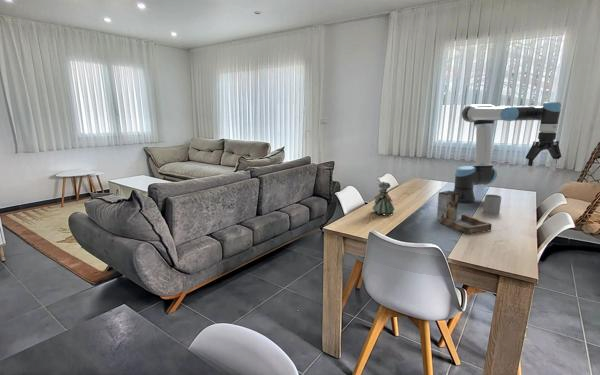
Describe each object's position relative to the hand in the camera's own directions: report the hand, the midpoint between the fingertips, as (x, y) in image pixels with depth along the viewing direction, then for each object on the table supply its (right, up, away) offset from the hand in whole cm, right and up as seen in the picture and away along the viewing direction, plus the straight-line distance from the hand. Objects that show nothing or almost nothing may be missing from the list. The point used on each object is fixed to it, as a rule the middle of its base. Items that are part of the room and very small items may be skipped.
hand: (541, 171), depth 174 cm
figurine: (-82, -25, +21) cm, 88 cm away
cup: (-16, -24, +19) cm, 35 cm away
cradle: (-44, -30, -5) cm, 54 cm away
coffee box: (-49, -27, +7) cm, 56 cm away
